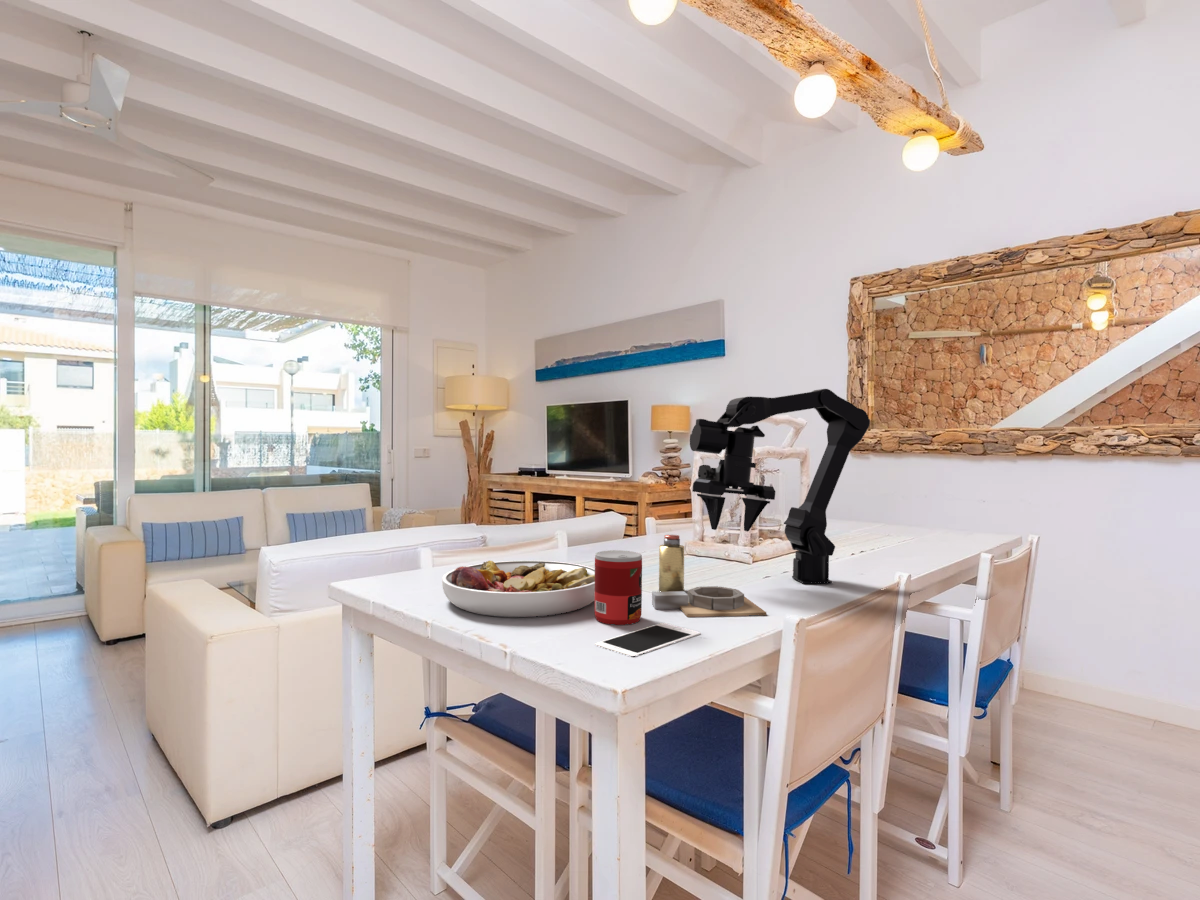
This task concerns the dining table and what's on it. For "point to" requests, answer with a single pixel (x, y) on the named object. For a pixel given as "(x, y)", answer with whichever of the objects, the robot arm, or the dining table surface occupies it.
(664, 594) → the socket
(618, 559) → the canned food
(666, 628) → the cell phone
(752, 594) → the dining table surface
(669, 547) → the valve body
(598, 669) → the dining table surface
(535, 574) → the bowl
